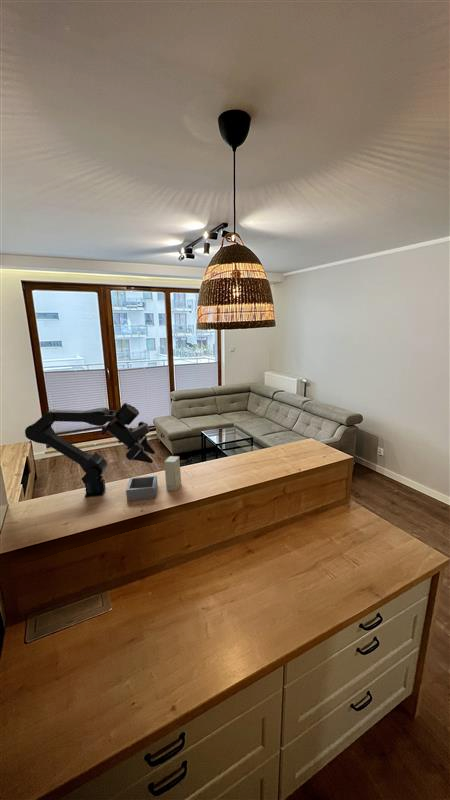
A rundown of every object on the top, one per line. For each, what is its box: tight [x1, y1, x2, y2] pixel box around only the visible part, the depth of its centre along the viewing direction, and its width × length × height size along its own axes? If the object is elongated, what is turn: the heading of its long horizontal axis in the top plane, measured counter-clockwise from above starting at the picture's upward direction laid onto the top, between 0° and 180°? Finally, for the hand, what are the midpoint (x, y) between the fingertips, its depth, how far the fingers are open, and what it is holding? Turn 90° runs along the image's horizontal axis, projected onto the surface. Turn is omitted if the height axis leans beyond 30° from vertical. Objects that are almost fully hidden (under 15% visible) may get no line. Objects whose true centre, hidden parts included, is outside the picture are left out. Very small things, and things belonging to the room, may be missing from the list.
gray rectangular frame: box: [125, 475, 158, 502], centre depth 126 cm, size 10×10×4 cm
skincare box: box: [163, 455, 182, 491], centre depth 129 cm, size 6×4×12 cm
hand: (153, 457), depth 127 cm, fingers open, 9 cm apart
